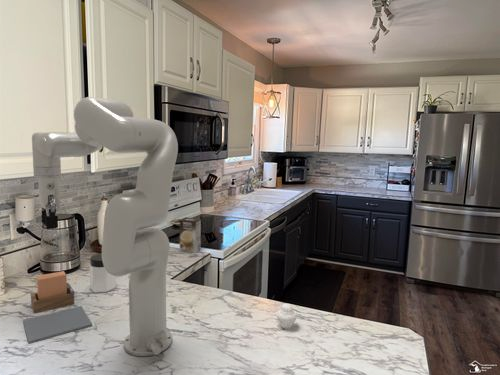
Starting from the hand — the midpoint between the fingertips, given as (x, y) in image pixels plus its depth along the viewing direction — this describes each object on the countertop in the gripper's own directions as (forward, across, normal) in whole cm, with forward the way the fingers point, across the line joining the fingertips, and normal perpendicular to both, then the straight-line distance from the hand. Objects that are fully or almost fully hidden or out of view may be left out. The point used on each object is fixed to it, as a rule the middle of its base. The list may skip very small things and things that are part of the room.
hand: (49, 225), depth 113 cm
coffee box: (+27, +27, -65) cm, 75 cm away
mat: (+27, -15, +1) cm, 31 cm away
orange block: (+27, 0, 0) cm, 27 cm away
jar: (+27, +4, -17) cm, 32 cm away
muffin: (+26, -55, -54) cm, 81 cm away
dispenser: (+27, 0, 0) cm, 27 cm away
